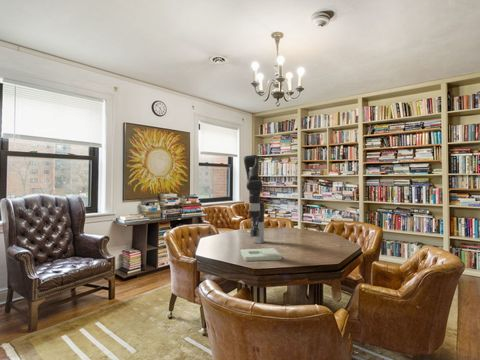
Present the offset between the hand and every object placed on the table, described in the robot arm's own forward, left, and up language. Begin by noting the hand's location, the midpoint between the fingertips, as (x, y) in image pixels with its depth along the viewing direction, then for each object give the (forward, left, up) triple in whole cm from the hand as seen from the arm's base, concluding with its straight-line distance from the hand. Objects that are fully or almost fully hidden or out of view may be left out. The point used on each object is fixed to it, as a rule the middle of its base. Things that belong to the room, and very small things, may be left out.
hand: (254, 235), depth 189 cm
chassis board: (0, +4, -14) cm, 15 cm away
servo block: (0, 0, -1) cm, 1 cm away
